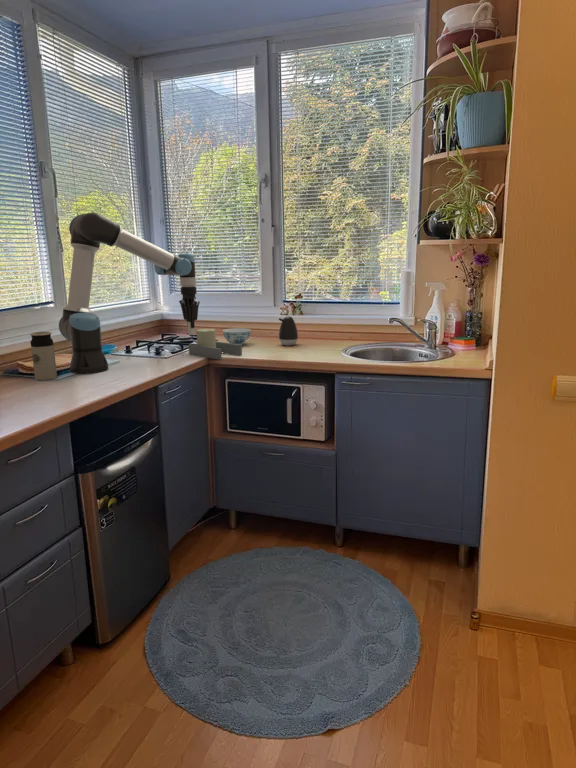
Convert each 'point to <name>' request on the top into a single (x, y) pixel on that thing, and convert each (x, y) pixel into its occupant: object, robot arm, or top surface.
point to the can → (206, 337)
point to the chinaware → (237, 335)
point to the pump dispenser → (288, 331)
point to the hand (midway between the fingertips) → (191, 334)
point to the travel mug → (43, 356)
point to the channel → (215, 350)
